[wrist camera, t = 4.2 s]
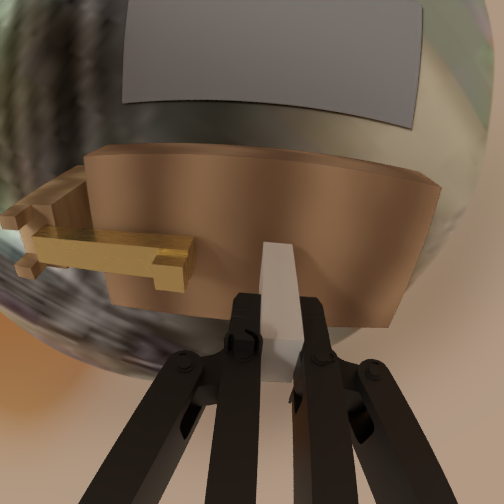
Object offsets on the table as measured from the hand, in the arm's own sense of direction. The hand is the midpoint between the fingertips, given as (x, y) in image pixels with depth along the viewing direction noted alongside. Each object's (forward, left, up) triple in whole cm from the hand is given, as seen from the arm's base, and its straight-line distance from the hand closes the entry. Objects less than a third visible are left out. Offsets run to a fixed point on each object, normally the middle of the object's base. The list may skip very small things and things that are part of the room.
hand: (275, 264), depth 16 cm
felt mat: (-1, +14, -10) cm, 17 cm away
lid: (-1, 0, -4) cm, 4 cm away
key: (-10, 0, -1) cm, 10 cm away
